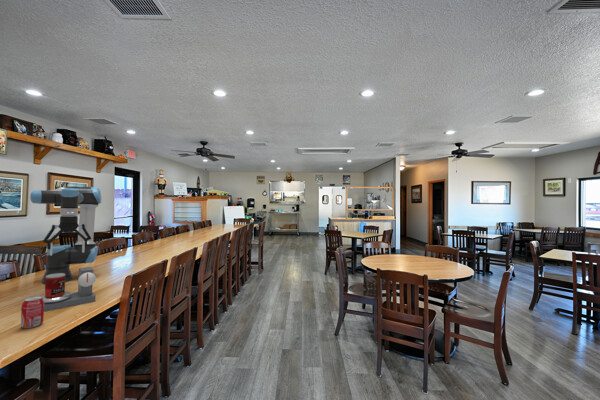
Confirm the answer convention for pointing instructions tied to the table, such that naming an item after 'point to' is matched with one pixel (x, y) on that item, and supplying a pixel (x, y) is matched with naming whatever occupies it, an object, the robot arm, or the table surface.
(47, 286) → the canned food
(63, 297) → the pan
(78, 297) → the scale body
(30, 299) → the soda can
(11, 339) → the table surface
